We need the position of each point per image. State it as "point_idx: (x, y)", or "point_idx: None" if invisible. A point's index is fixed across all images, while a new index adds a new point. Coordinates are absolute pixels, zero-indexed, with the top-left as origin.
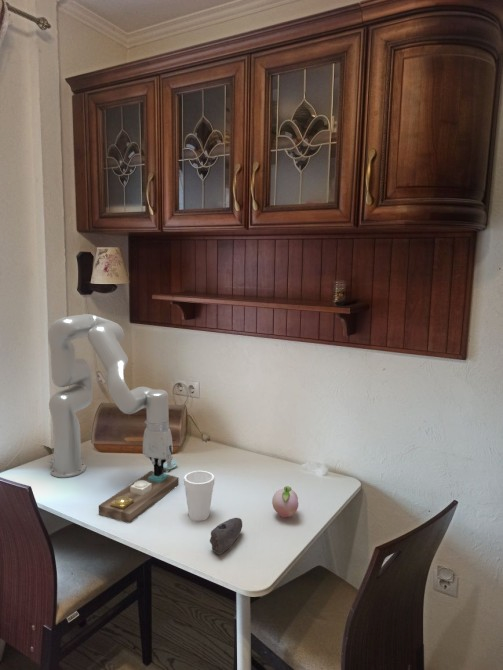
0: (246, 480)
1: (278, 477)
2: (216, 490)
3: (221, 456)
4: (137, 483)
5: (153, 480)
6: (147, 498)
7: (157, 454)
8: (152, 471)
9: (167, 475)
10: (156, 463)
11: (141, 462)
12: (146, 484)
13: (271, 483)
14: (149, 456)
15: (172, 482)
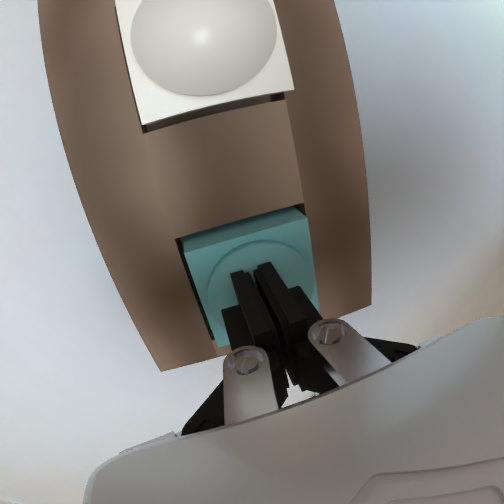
0: (48, 464)
1: (33, 488)
2: (18, 392)
3: None
4: (231, 4)
5: (249, 227)
6: (56, 14)
7: (261, 496)
8: (358, 309)
9: (215, 339)
10: (299, 353)
11: (451, 329)
12: (134, 49)
13: (9, 468)
14: (418, 356)
15: (129, 311)
